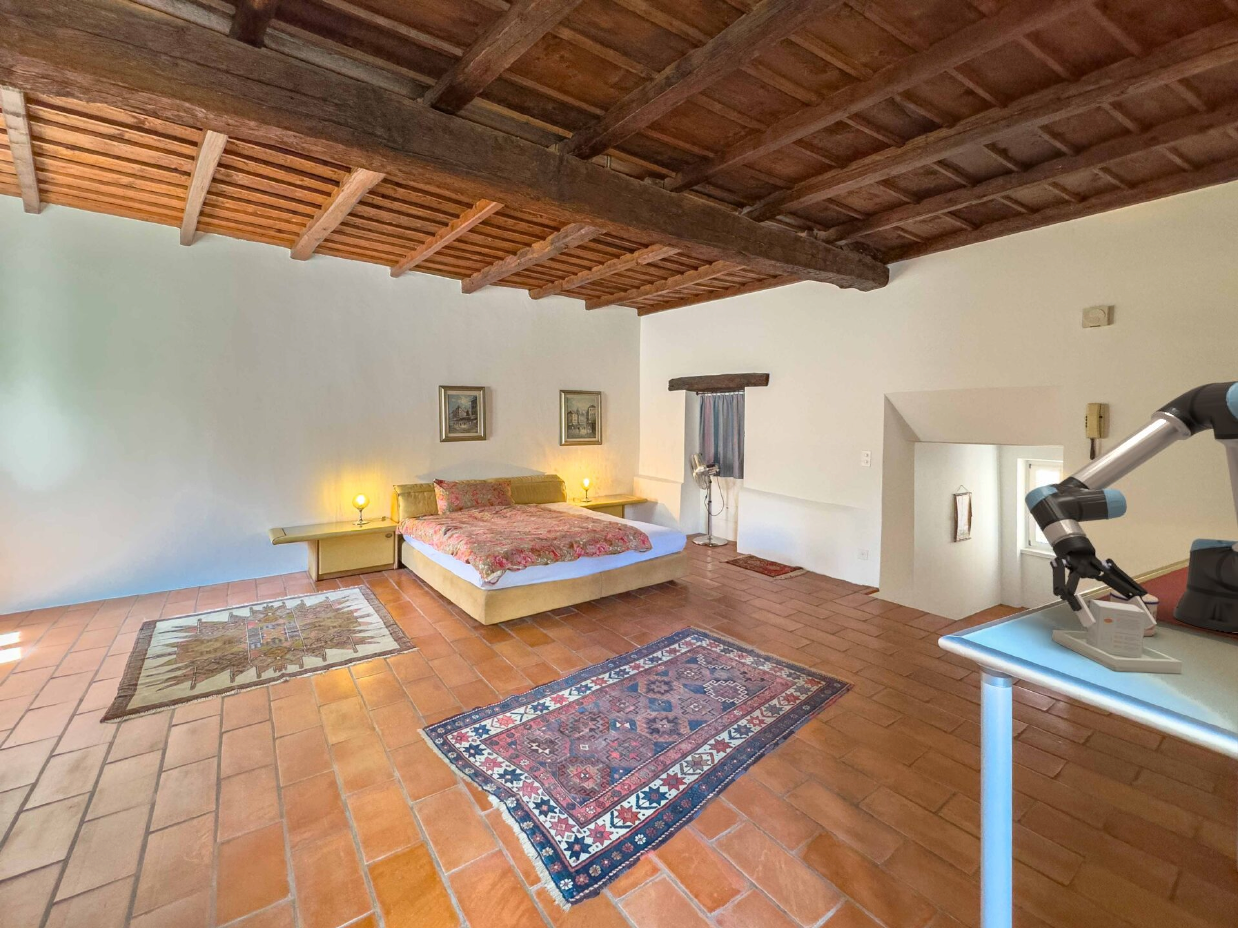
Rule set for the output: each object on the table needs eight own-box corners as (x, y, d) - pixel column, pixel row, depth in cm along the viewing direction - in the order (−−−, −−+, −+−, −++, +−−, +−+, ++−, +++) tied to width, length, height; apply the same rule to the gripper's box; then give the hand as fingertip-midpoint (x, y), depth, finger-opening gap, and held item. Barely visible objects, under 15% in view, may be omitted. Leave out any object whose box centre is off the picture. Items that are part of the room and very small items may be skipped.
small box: (1130, 650, 122) (1135, 604, 121) (1141, 659, 116) (1147, 612, 116) (1085, 643, 125) (1090, 598, 124) (1094, 652, 120) (1099, 605, 119)
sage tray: (1110, 642, 129) (1111, 632, 129) (1180, 673, 113) (1182, 661, 113) (1052, 640, 129) (1053, 629, 128) (1114, 670, 113) (1115, 659, 112)
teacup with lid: (1147, 639, 132) (1153, 592, 131) (1100, 626, 140) (1105, 582, 139) (1164, 631, 138) (1169, 586, 137) (1118, 619, 146) (1122, 577, 145)
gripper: (1108, 552, 136) (1162, 633, 122) (1010, 549, 135) (1053, 630, 122) (1130, 536, 130) (1190, 619, 116) (1028, 532, 130) (1076, 615, 116)
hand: (1120, 625), depth 119 cm, fingers open, 13 cm apart
